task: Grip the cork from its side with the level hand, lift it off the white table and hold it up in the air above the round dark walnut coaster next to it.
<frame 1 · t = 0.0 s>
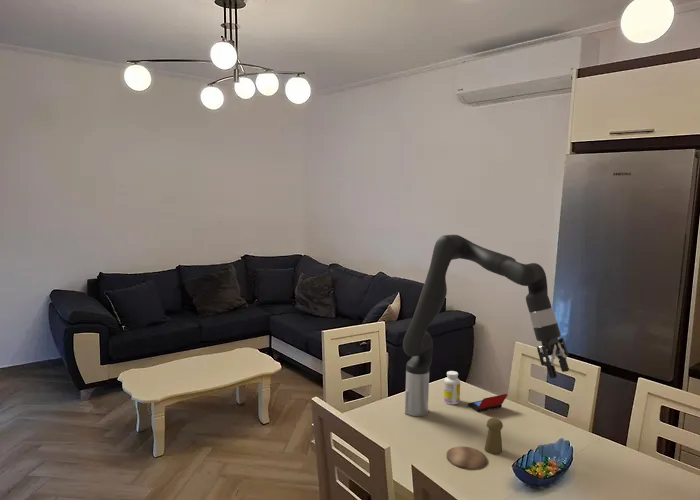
hand: (559, 374, 156), 31 cm above the table, tool tilted 20°, fingers open, 8 cm apart
handheld game console: (486, 409, 205), on the table
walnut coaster: (466, 458, 165), on the table
supplement bottle: (451, 402, 210), on the table
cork: (493, 450, 171), on the table
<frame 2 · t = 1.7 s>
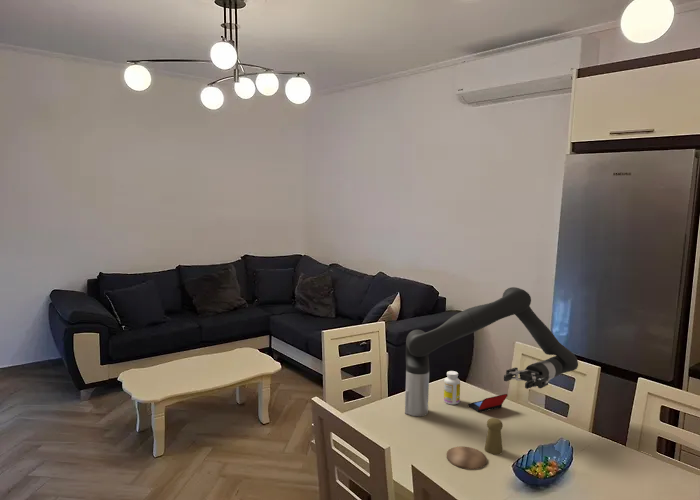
hand: (515, 382, 175), 22 cm above the table, tool horizontal, fingers open, 8 cm apart
nothing on the table moved.
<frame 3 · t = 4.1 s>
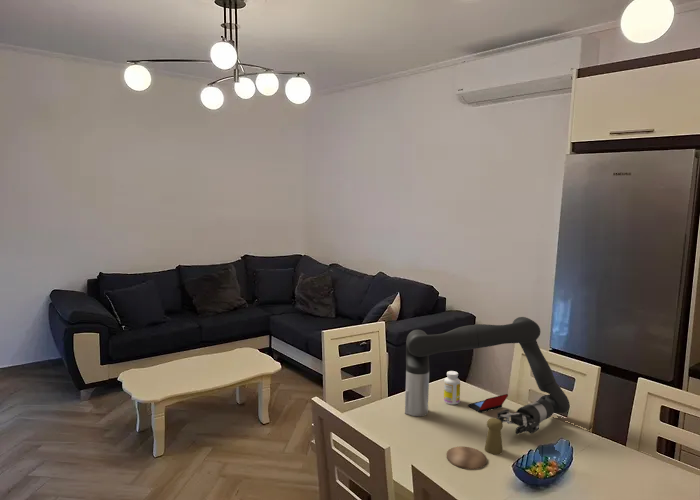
hand: (506, 426, 174), 6 cm above the table, tool horizontal, fingers open, 8 cm apart
nothing on the table moved.
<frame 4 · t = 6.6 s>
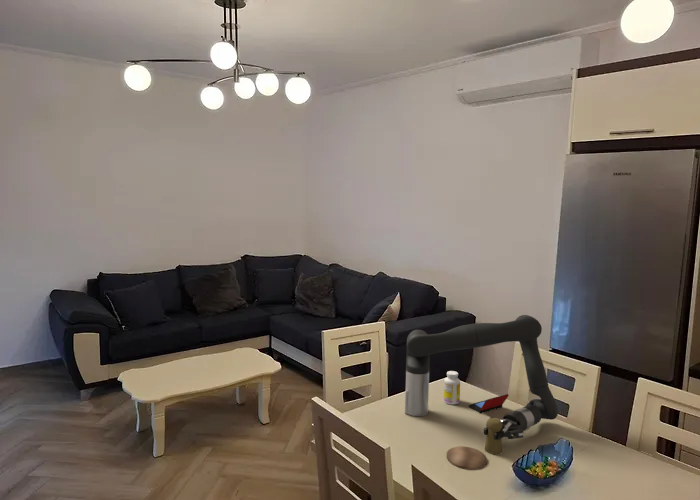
hand: (490, 434, 168), 7 cm above the table, tool horizontal, fingers closed on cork, 3 cm apart
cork: (493, 450, 171), on the table, touching gripper
everything else where it was.
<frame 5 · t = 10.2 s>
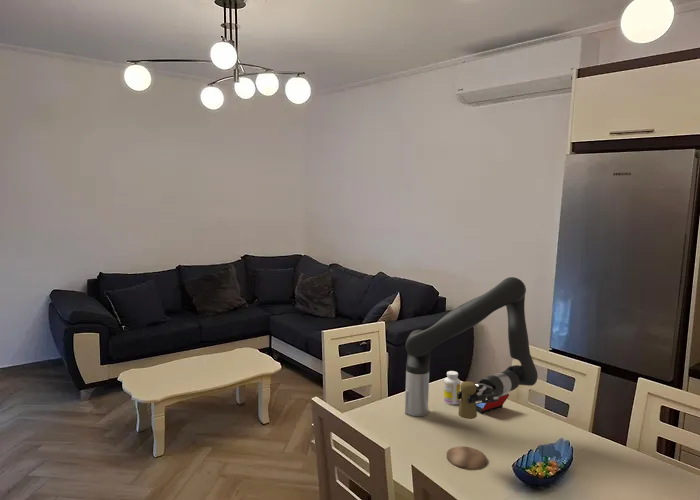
hand: (463, 398, 161), 22 cm above the table, tool horizontal, fingers closed on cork, 3 cm apart
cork: (467, 415, 164), point 15 cm above the table, touching gripper
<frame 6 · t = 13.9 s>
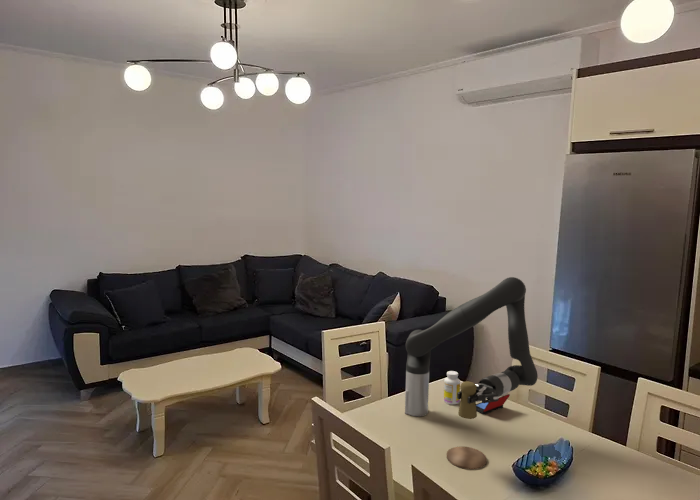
hand: (463, 398, 161), 22 cm above the table, tool horizontal, fingers closed on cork, 3 cm apart
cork: (467, 415, 164), point 15 cm above the table, touching gripper
at the end: the gripper is holding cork; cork point 15.0 cm above the table; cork 0.3 cm from the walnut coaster (horizontally) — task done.
